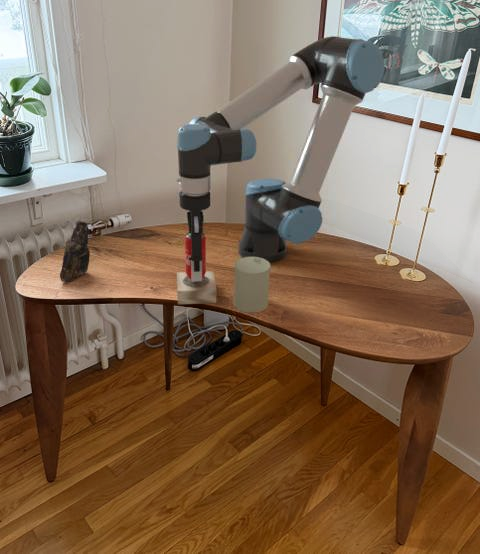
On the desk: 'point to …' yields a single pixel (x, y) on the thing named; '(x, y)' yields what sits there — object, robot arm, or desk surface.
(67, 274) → the statue
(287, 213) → the robot arm
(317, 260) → the desk surface
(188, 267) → the beverage can
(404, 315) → the desk surface
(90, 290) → the desk surface
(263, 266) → the can
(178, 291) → the base
